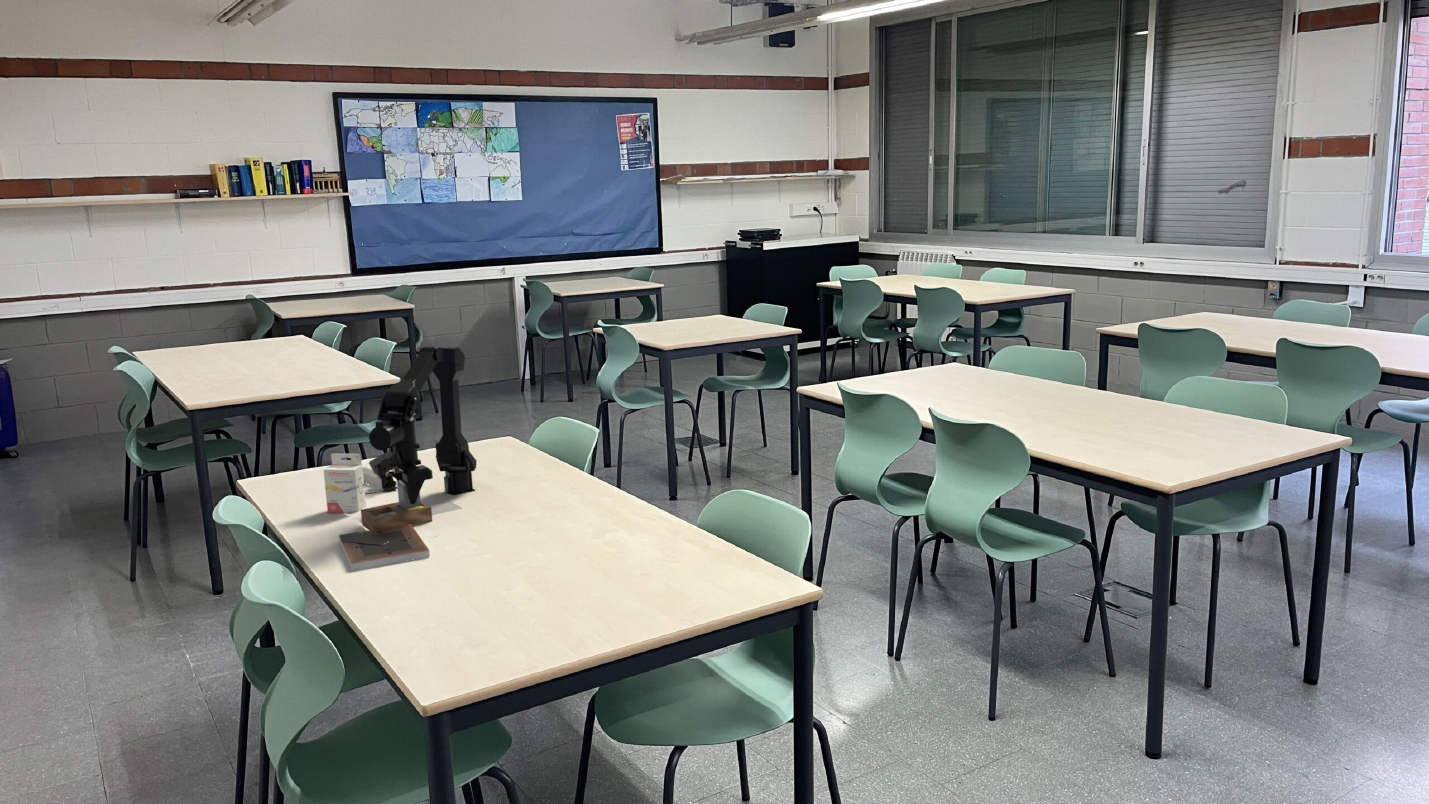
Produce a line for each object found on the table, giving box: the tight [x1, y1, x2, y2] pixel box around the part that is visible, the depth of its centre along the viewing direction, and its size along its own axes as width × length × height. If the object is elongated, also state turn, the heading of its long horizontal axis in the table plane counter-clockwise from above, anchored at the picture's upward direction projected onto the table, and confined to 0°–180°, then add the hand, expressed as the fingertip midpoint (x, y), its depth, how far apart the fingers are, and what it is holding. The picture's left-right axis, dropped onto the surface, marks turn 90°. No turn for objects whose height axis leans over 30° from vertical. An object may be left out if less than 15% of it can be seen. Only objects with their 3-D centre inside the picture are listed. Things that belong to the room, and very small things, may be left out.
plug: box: [397, 480, 422, 510], centre depth 251 cm, size 4×4×7 cm
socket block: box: [360, 501, 433, 531], centre depth 250 cm, size 14×10×4 cm
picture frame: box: [338, 524, 431, 572], centre depth 233 cm, size 16×2×22 cm
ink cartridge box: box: [323, 453, 367, 514], centre depth 261 cm, size 9×5×15 cm, turn 84°
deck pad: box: [429, 501, 463, 516], centre depth 261 cm, size 8×8×1 cm
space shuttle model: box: [362, 466, 398, 494], centre depth 288 cm, size 16×25×10 cm, turn 38°
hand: (409, 501), depth 252 cm, fingers closed on plug, 4 cm apart
